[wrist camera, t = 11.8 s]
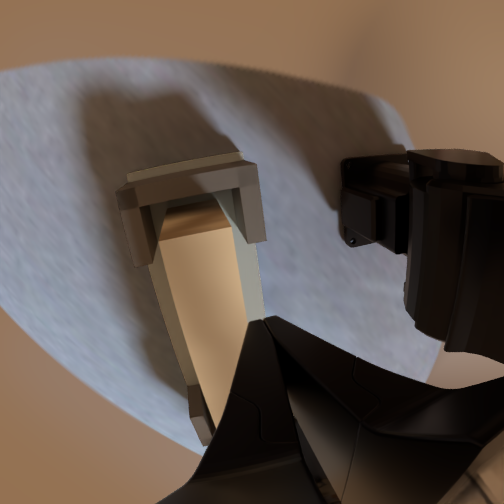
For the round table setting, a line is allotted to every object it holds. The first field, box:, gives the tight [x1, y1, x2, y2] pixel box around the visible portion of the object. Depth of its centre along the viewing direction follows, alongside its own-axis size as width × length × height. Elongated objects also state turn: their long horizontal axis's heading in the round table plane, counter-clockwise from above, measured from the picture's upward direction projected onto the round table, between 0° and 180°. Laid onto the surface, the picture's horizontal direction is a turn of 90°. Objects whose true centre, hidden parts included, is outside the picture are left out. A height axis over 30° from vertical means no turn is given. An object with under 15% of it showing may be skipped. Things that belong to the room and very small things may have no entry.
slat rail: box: [116, 152, 267, 446], centre depth 20 cm, size 7×21×4 cm, turn 7°
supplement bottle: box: [294, 418, 342, 504], centre depth 24 cm, size 7×7×12 cm
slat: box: [158, 199, 248, 429], centre depth 18 cm, size 3×16×6 cm, turn 7°
